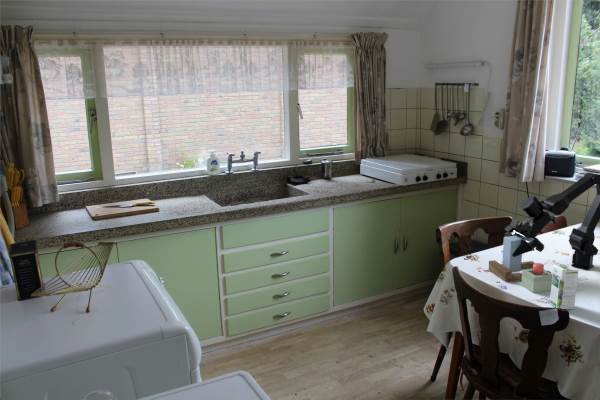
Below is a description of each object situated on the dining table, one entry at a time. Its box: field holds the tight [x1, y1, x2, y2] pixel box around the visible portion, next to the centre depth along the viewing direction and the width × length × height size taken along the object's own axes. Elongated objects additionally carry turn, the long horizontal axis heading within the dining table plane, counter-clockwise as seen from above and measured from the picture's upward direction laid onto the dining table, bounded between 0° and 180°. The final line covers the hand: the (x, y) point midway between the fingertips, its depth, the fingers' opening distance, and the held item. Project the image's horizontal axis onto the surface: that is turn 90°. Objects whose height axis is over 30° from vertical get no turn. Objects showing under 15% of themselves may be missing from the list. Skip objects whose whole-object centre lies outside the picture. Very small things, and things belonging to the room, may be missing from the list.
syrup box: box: [549, 263, 579, 310], centre depth 174 cm, size 6×6×14 cm
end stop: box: [488, 260, 513, 283], centre depth 203 cm, size 2×12×4 cm, turn 10°
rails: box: [500, 260, 552, 282], centre depth 204 cm, size 17×12×2 cm
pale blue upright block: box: [501, 235, 523, 273], centre depth 202 cm, size 5×5×13 cm
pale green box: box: [520, 268, 553, 294], centre depth 190 cm, size 8×7×6 cm
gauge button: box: [532, 262, 545, 274], centre depth 189 cm, size 4×4×3 cm
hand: (509, 253), depth 202 cm, fingers closed on pale blue upright block, 5 cm apart
